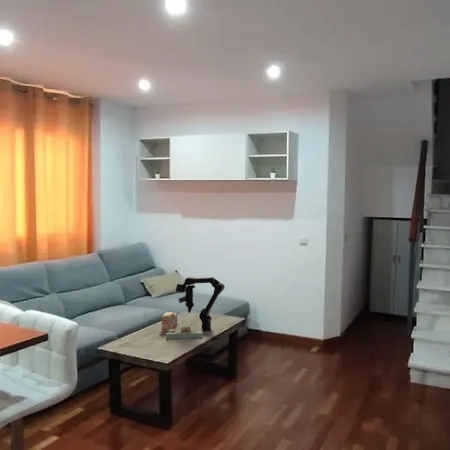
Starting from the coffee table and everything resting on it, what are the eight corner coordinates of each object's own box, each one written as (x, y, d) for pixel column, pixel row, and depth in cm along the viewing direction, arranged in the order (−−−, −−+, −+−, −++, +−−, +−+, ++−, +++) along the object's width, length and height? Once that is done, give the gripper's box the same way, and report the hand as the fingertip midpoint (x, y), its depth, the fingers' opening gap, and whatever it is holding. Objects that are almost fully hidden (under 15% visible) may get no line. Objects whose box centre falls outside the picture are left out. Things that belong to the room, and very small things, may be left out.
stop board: (201, 336, 361) (201, 331, 361) (202, 337, 358) (202, 332, 358) (166, 337, 358) (166, 332, 358) (166, 338, 355) (166, 334, 355)
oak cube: (173, 334, 366) (173, 329, 366) (175, 335, 362) (175, 330, 362) (168, 335, 365) (168, 329, 364) (169, 336, 361) (169, 331, 361)
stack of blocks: (169, 323, 394) (169, 308, 394) (177, 324, 393) (177, 309, 392) (161, 331, 374) (161, 315, 373) (169, 332, 372) (169, 316, 371)
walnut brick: (190, 333, 370) (190, 326, 370) (191, 337, 360) (191, 330, 360) (180, 333, 369) (180, 326, 369) (181, 337, 359) (181, 330, 359)
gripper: (178, 290, 389) (178, 310, 390) (179, 296, 371) (179, 316, 372) (192, 290, 391) (192, 309, 392) (194, 295, 372) (193, 315, 373)
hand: (189, 312), depth 382 cm, fingers closed
